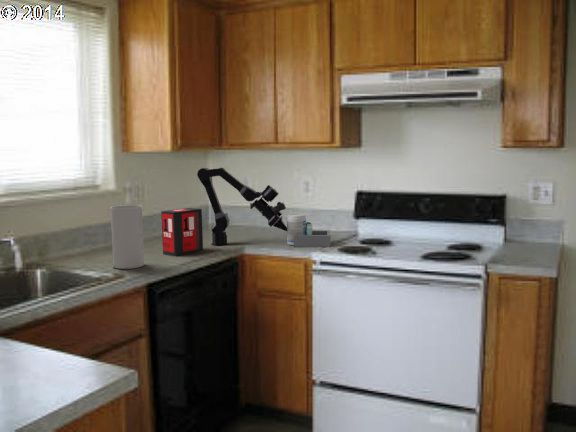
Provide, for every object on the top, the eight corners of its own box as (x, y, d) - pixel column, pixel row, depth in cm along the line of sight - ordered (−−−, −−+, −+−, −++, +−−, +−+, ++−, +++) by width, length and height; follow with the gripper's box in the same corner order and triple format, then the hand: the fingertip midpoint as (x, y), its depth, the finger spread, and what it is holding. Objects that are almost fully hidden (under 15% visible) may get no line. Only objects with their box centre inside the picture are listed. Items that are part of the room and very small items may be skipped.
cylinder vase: (136, 262, 262) (133, 204, 259) (149, 266, 252) (147, 206, 249) (108, 266, 253) (105, 206, 251) (121, 270, 244) (118, 209, 241)
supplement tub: (308, 245, 297) (307, 215, 295) (288, 246, 295) (288, 216, 293) (304, 242, 306) (303, 213, 304) (285, 243, 305) (285, 214, 303)
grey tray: (294, 247, 293) (293, 235, 292) (295, 241, 309) (295, 230, 309) (330, 246, 291) (330, 235, 291) (330, 241, 308) (330, 230, 308)
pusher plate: (307, 246, 294) (306, 227, 293) (307, 241, 307) (307, 224, 306) (311, 246, 294) (311, 227, 293) (312, 241, 307) (312, 224, 306)
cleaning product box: (190, 249, 292) (189, 208, 290) (203, 251, 286) (201, 209, 284) (163, 254, 280) (161, 211, 277) (175, 256, 274) (173, 212, 271)
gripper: (274, 198, 290) (297, 221, 290) (277, 195, 308) (299, 216, 309) (258, 215, 291) (281, 237, 292) (262, 211, 309) (284, 232, 310)
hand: (287, 230), depth 300 cm, fingers closed, pressing on supplement tub
